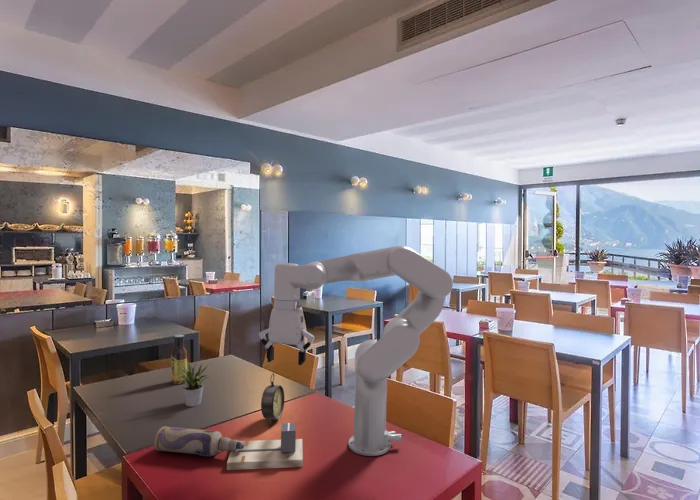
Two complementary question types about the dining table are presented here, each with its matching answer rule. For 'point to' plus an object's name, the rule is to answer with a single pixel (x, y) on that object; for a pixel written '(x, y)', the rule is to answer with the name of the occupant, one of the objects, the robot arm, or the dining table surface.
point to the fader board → (265, 455)
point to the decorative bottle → (193, 441)
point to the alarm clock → (272, 402)
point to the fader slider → (288, 437)
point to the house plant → (192, 385)
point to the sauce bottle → (178, 359)
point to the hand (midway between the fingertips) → (285, 362)
